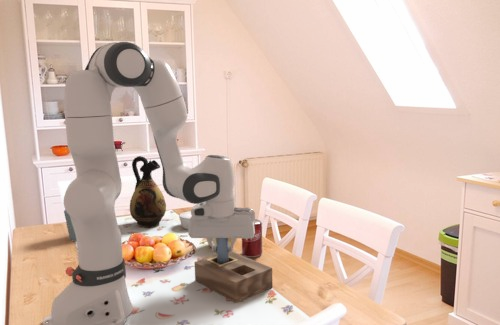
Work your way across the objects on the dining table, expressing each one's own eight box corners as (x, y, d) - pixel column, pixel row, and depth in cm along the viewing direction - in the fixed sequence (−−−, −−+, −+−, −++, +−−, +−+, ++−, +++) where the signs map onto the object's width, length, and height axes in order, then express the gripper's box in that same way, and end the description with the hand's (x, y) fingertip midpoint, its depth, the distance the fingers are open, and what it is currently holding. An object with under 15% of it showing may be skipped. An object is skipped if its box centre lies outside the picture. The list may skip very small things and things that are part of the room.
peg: (222, 269, 138) (221, 238, 136) (215, 266, 141) (213, 235, 139) (231, 266, 141) (230, 235, 139) (224, 263, 143) (222, 233, 141)
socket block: (236, 302, 126) (235, 281, 124) (195, 280, 140) (194, 261, 139) (272, 287, 135) (272, 267, 133) (230, 267, 149) (230, 249, 148)
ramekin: (204, 230, 188) (204, 218, 188) (177, 230, 189) (177, 218, 188) (207, 222, 200) (206, 210, 199) (182, 222, 200) (181, 210, 199)
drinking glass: (96, 238, 181) (94, 209, 179) (70, 243, 176) (67, 214, 174) (89, 231, 190) (87, 204, 187) (64, 236, 184) (61, 208, 182)
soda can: (260, 258, 157) (259, 225, 154) (239, 257, 158) (239, 224, 156) (264, 250, 164) (263, 219, 161) (244, 249, 165) (243, 218, 163)
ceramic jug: (172, 220, 203) (169, 154, 198) (158, 231, 188) (153, 160, 183) (137, 218, 207) (133, 153, 202) (121, 229, 192) (115, 159, 187)
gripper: (255, 204, 139) (257, 247, 142) (190, 205, 141) (192, 247, 144) (253, 210, 133) (255, 255, 136) (185, 210, 135) (188, 254, 138)
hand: (222, 251), depth 140 cm, fingers closed on peg, 4 cm apart
